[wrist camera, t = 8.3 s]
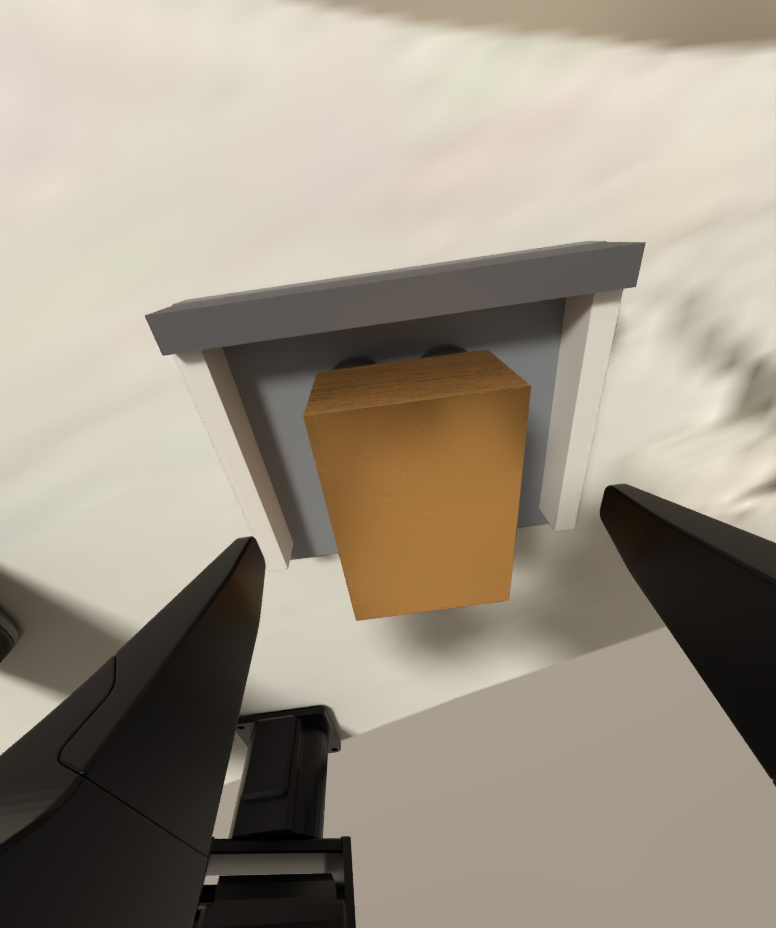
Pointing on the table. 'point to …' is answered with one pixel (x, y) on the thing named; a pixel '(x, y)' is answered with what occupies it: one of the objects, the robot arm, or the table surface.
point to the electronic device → (7, 635)
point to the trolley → (421, 476)
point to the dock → (396, 339)
